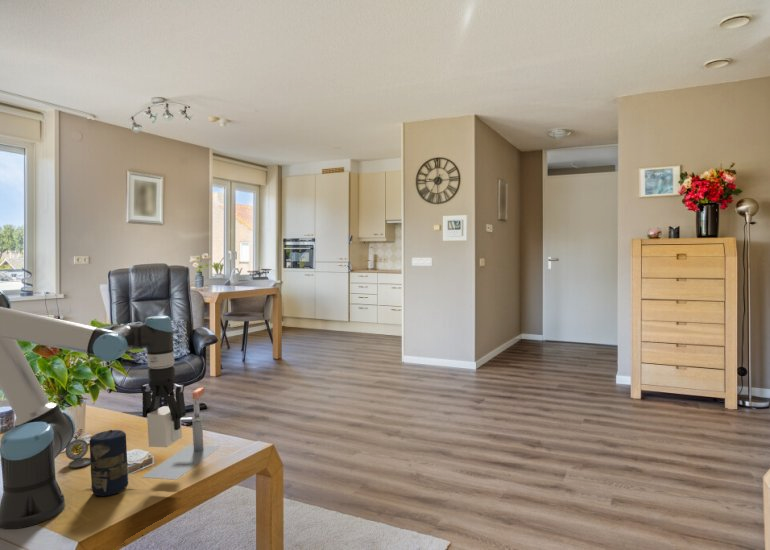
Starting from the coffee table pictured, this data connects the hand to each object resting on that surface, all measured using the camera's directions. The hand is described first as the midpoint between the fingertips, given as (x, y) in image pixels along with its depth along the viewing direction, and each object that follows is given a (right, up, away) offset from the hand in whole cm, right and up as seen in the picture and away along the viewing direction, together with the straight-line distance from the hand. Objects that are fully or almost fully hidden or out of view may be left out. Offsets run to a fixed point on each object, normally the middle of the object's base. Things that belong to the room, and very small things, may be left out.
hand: (165, 439), depth 158 cm
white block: (0, -1, 0) cm, 1 cm away
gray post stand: (+2, -11, +9) cm, 15 cm away
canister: (-13, -13, -8) cm, 20 cm away
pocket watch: (-34, -12, +12) cm, 38 cm away
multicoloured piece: (0, +1, +20) cm, 20 cm away
